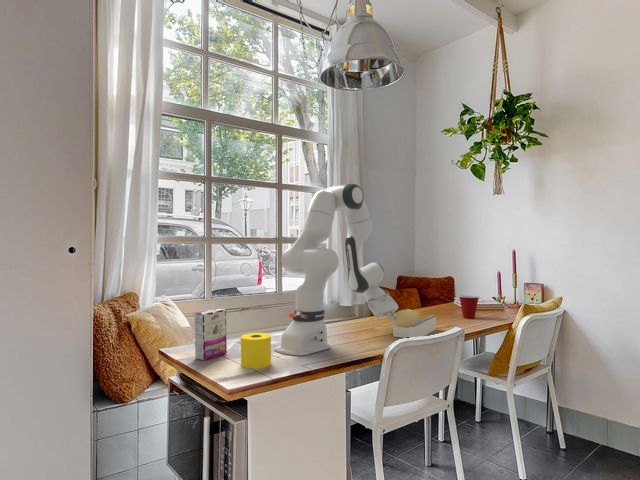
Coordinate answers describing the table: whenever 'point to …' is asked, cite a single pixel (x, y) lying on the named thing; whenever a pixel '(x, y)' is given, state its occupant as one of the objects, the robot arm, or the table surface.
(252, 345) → the yellow toilet paper roll
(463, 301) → the plastic cup
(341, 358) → the table surface
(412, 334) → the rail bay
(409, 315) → the sculpture
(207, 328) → the candy bar box
